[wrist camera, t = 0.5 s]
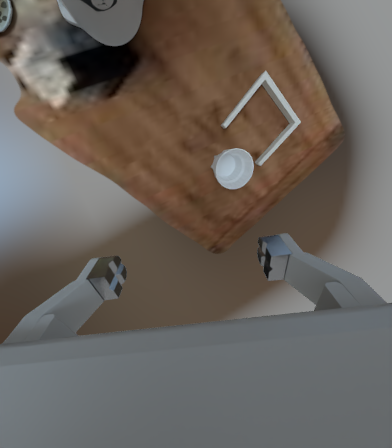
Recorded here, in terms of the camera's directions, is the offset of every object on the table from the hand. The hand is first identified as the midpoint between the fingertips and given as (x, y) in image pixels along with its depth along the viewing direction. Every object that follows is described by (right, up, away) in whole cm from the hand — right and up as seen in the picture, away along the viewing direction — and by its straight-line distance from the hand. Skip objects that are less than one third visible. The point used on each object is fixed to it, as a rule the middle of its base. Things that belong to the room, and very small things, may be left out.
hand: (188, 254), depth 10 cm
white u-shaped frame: (+18, +30, +39) cm, 52 cm away
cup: (+9, +20, +43) cm, 48 cm away
